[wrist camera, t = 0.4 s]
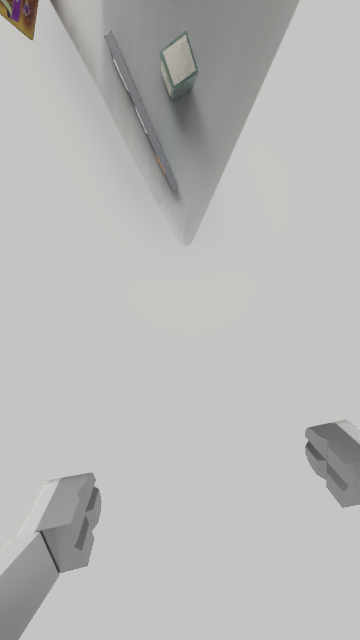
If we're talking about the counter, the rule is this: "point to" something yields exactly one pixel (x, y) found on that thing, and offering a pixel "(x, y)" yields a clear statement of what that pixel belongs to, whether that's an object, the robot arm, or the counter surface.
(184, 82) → the tea tin
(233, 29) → the counter surface
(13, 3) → the candy box
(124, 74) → the rail
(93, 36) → the counter surface
